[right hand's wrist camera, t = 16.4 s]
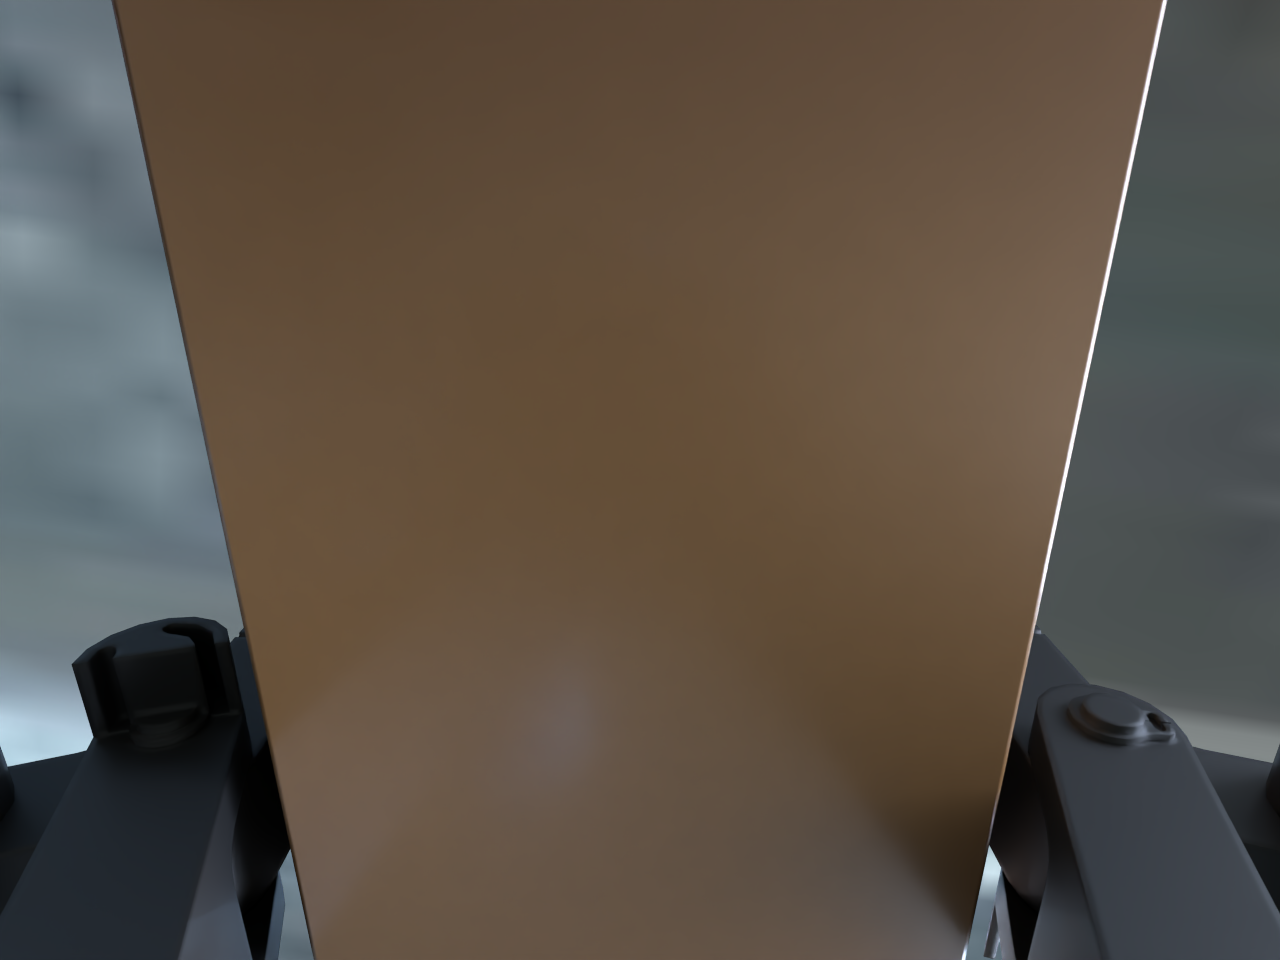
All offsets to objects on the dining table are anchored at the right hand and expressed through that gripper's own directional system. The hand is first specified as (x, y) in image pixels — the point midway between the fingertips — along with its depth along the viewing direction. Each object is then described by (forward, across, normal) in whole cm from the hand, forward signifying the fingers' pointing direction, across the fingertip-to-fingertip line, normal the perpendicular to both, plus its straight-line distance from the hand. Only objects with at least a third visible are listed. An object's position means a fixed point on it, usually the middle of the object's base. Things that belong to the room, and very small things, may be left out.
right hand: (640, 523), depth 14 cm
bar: (+1, 0, -8) cm, 8 cm away
